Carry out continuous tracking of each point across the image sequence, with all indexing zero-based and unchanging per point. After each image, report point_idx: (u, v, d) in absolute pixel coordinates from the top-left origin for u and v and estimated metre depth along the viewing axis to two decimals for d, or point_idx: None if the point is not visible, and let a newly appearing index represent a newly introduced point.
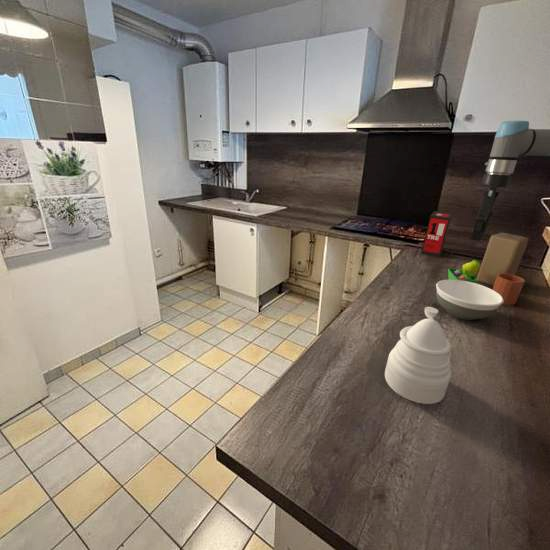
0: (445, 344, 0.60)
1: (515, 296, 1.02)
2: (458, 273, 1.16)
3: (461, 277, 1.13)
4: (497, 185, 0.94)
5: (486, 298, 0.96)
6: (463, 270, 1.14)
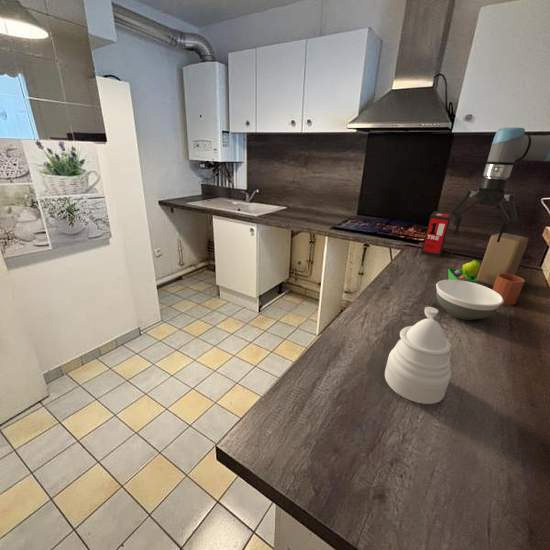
0: (445, 344, 0.60)
1: (515, 296, 1.02)
2: (458, 273, 1.16)
3: (461, 277, 1.13)
4: None
5: (486, 298, 0.96)
6: (463, 270, 1.14)
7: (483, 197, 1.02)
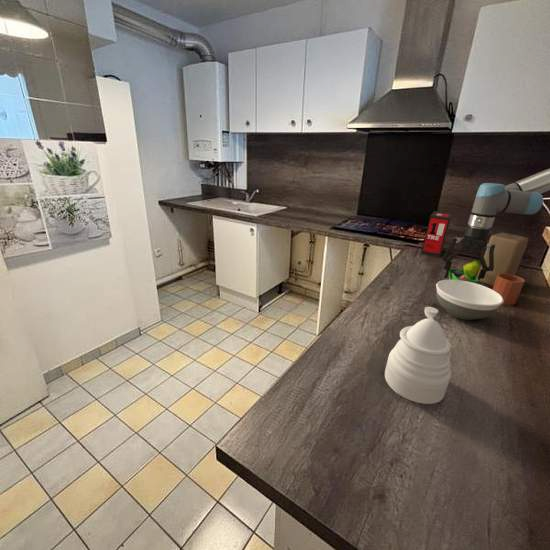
0: (445, 344, 0.60)
1: (515, 296, 1.02)
2: (459, 273, 1.16)
3: (462, 277, 1.13)
4: None
5: (486, 298, 0.96)
6: (464, 270, 1.14)
7: (468, 244, 1.10)
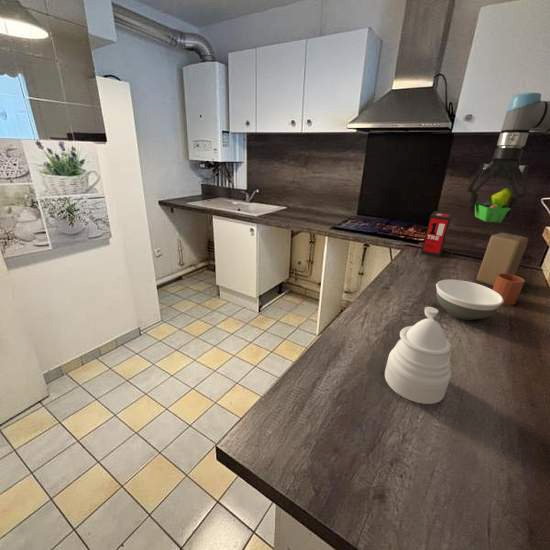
0: (445, 344, 0.60)
1: (515, 296, 1.02)
2: (487, 205, 1.06)
3: (491, 207, 1.02)
4: None
5: (486, 298, 0.96)
6: (492, 200, 1.04)
7: (497, 168, 0.99)
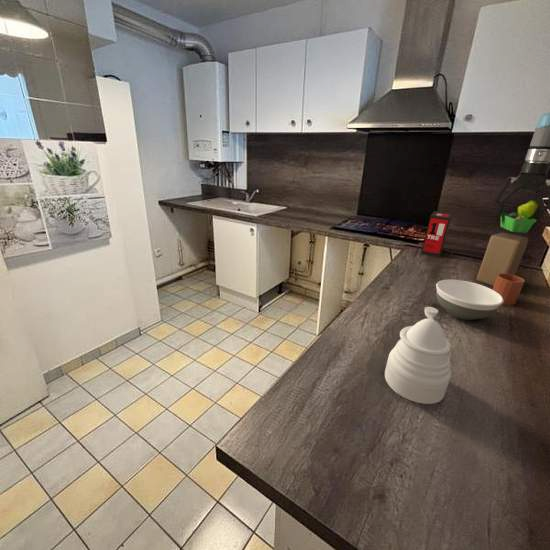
0: (445, 344, 0.60)
1: (515, 296, 1.02)
2: (513, 216, 1.11)
3: (517, 218, 1.08)
4: None
5: (486, 298, 0.96)
6: (519, 212, 1.10)
7: (525, 181, 1.05)
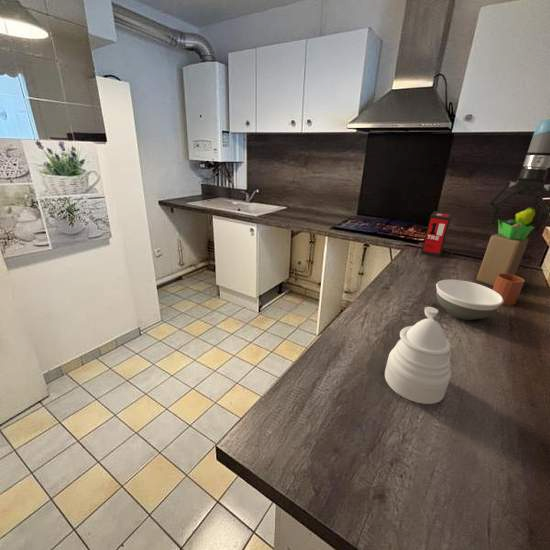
0: (445, 344, 0.60)
1: (515, 296, 1.02)
2: (510, 223, 1.12)
3: (515, 225, 1.09)
4: None
5: (486, 298, 0.96)
6: (516, 219, 1.11)
7: (523, 187, 1.06)
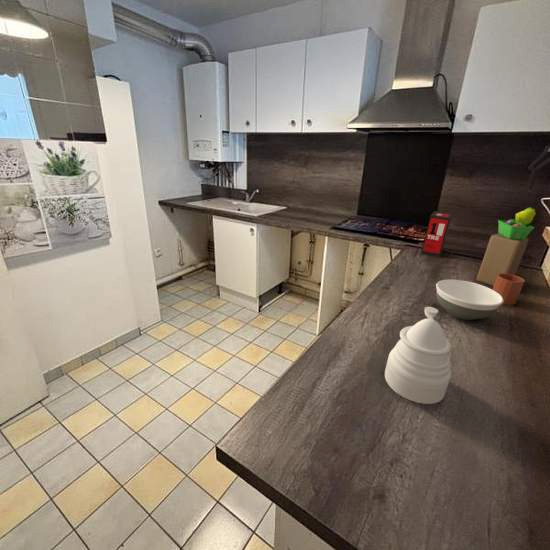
0: (445, 344, 0.60)
1: (515, 296, 1.02)
2: (510, 223, 1.12)
3: (515, 225, 1.09)
4: None
5: (486, 298, 0.96)
6: (516, 219, 1.11)
7: None
